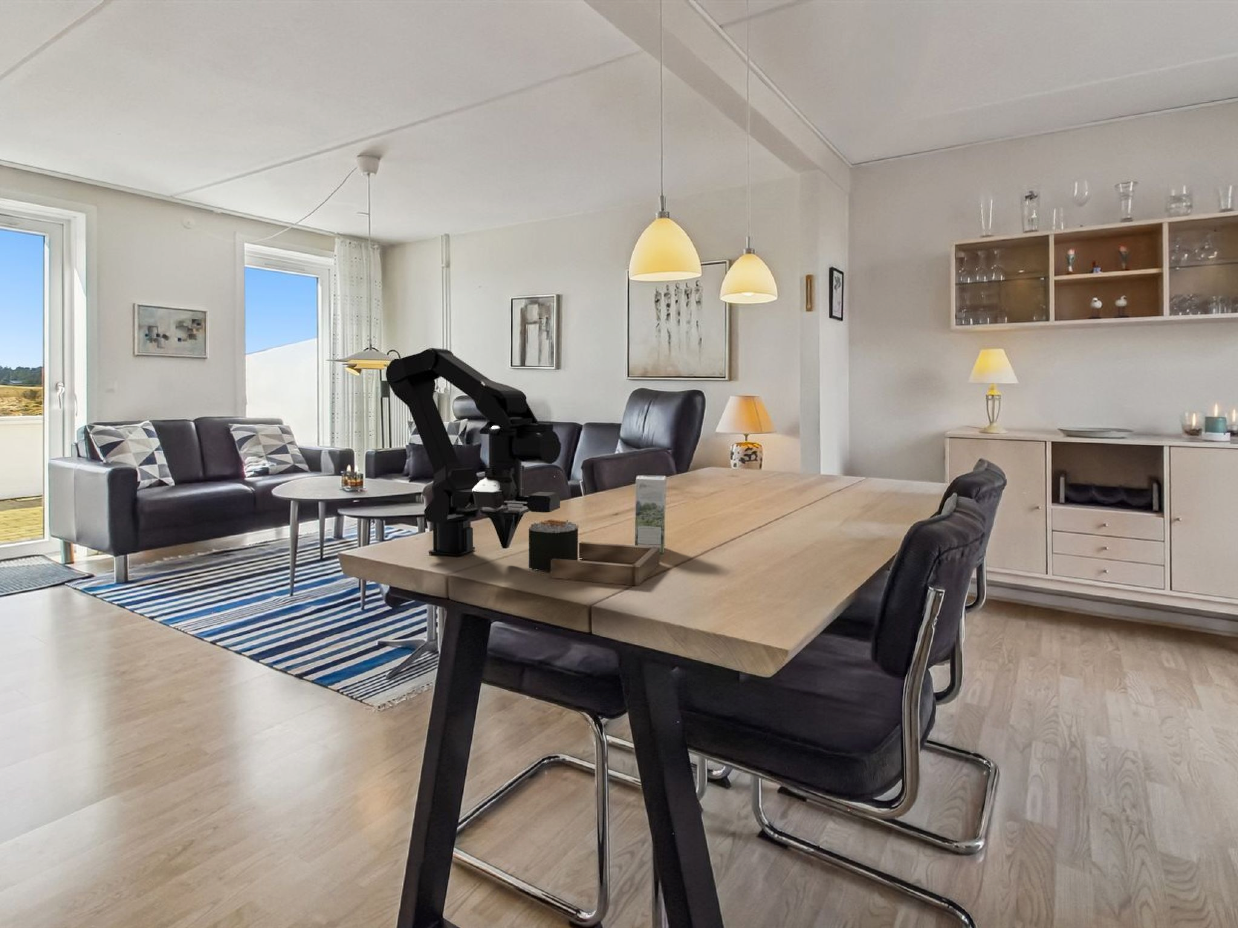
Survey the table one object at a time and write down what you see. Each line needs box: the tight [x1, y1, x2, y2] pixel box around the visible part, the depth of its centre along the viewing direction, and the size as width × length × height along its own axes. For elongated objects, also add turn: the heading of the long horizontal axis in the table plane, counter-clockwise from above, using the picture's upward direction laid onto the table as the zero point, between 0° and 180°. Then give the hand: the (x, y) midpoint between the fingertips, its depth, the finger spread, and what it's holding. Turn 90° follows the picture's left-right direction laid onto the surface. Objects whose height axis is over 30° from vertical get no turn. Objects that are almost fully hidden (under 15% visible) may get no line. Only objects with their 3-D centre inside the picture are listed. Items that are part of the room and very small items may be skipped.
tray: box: [550, 541, 661, 587], centre depth 120 cm, size 15×15×3 cm
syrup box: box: [634, 474, 667, 554], centre depth 136 cm, size 6×6×14 cm
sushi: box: [528, 518, 580, 572], centre depth 122 cm, size 8×8×8 cm
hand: (505, 548), depth 125 cm, fingers closed
